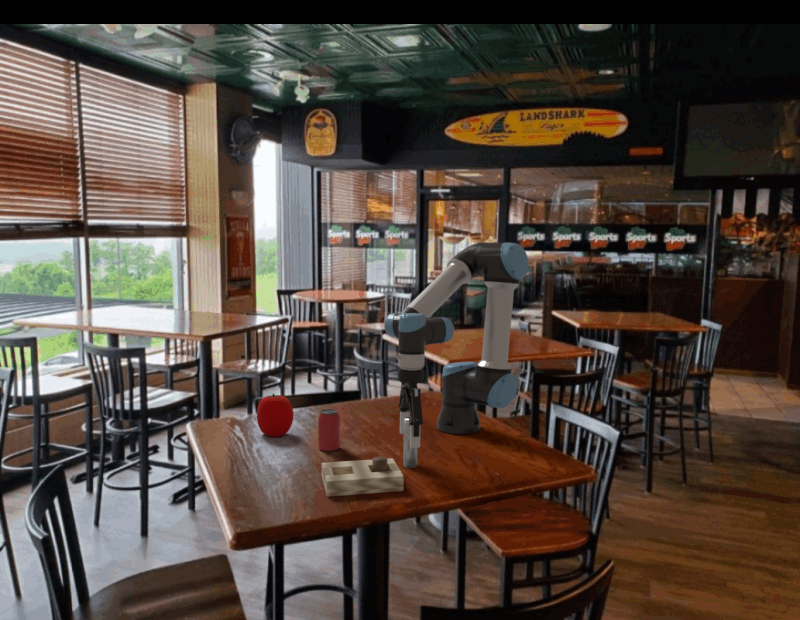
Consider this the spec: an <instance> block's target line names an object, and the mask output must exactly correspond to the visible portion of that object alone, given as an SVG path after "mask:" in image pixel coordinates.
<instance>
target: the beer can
mask: <svg viewBox="0 0 800 620" xmlns="http://www.w3.org/2000/svg"><path fill="white" fill-rule="evenodd" d="M340 420H341V418H340V414H339V411H338V409H335V408H326V409H325V408H324V409H321V410H320V411H319V415H318V430H317V431H318V449H319V450H321V451H323V452H334V451H337V450H339V449H340V447H341V446H340V445H341V439H340V438H341V435H340V434H341V431H340V429H341V427H340V426H341V424H340V423H341V421H340Z"/></svg>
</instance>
